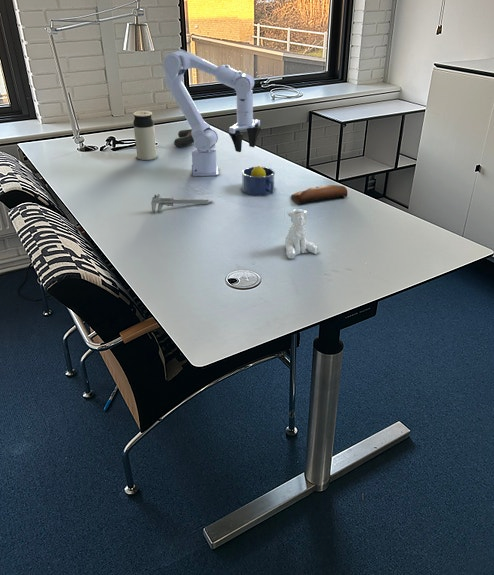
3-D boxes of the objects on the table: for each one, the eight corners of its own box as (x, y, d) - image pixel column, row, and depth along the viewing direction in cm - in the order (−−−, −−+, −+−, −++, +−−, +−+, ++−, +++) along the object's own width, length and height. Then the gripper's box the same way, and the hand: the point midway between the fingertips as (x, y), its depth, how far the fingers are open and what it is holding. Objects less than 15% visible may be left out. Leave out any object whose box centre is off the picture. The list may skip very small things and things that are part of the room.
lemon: (268, 186, 187) (268, 164, 183) (262, 191, 183) (262, 169, 179) (254, 184, 189) (254, 162, 185) (247, 189, 185) (247, 167, 181)
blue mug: (236, 187, 188) (236, 170, 184) (262, 181, 193) (262, 164, 190) (259, 200, 178) (259, 182, 174) (285, 193, 183) (286, 176, 179)
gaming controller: (179, 153, 229) (198, 142, 226) (171, 142, 227) (190, 130, 224) (184, 142, 243) (202, 131, 241) (177, 132, 241) (195, 120, 238)
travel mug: (148, 161, 213) (143, 116, 203) (133, 158, 216) (128, 113, 207) (160, 156, 218) (156, 112, 209) (146, 153, 222) (141, 109, 212)
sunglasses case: (335, 188, 186) (341, 176, 180) (343, 204, 183) (349, 191, 177) (289, 195, 180) (294, 182, 175) (296, 211, 177) (301, 199, 172)
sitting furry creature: (288, 260, 142) (290, 219, 136) (274, 246, 149) (275, 207, 142) (319, 253, 145) (322, 213, 139) (304, 240, 152) (306, 202, 146)
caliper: (153, 214, 168) (151, 195, 165) (152, 212, 169) (150, 194, 166) (212, 203, 176) (211, 185, 172) (210, 202, 177) (210, 184, 173)
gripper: (239, 116, 179) (240, 155, 186) (266, 108, 188) (266, 146, 195) (224, 113, 183) (225, 152, 190) (251, 106, 192) (251, 143, 199)
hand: (245, 149), depth 193 cm, fingers open, 7 cm apart
